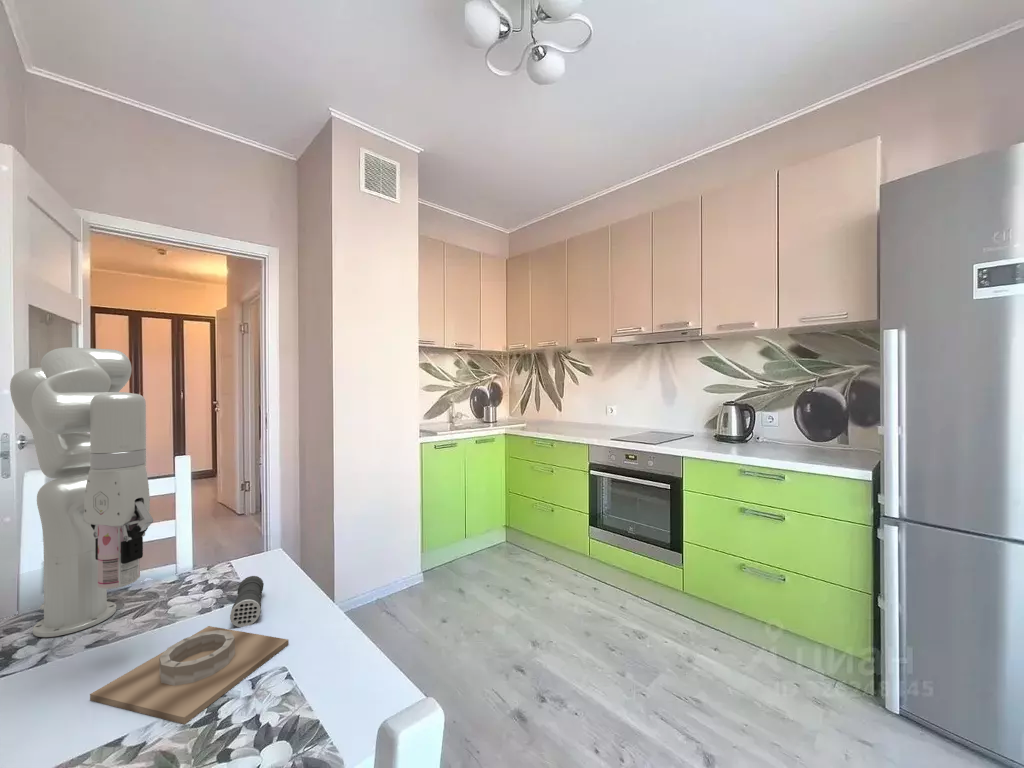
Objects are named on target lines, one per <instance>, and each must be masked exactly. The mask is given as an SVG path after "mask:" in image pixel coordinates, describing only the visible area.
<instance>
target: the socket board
mask: <svg viewBox="0 0 1024 768" xmlns="http://www.w3.org/2000/svg"><path fill="white" fill-rule="evenodd" d="M289 641H290V640H289V639H287V638H280V637H276V636H269V635H264V634H260V633H259V634H257V633H252V632H246V631H241V630H235V629H228V628H223V627H217V626H211V625H207V626H206V627H204V628H202V629H201V630H199V631H198V632H195V633H194V634H192V635H191V636H188V637H185V638H183V639H181V640H179V641H177V642H176V643H174V644H173V645H170V646H169V647H167V648H166V650H164V651H163V652H160V653H159V654H157V655H156V656H154V657H152V658H150V659H148V660H147V661H145V662H144V663H141V664H140V665H138V666H136V667H135V668H132V669H131V670H129V671H127V672H126V673H124V674H123V675H121V676H119V677H117V678H116V679H113V680H112V681H110V682H109V683H107V684H105V685H103V686H102V687H100V688H98V689H97V690H95V691H93V692H91V693H89V701H92V702H95V703H99V704H103V705H106V706H111V707H114V708H119V709H122V710H126V711H130V712H134V713H140V714H143V715H146V716H150V717H153V718H158V719H163V720H167V721H170V722H175V723H178V724H182V725H186V724H187V723H189V722H190V721H191V720H192V719H194V718H195V717H196V716H197V715H199V714H201V713H202V712H203V711H204V710H206V709H207V708H208V707H210V706H212V704H214V703H215V702H216V701H217V700H218V699H220V698H221V697H223V696H224V695H225V694H226V693H228V692H229V691H230V690H232V689H233V688H234V687H235V686H236V685H238V684H240V682H242V681H243V680H245V679H246V678H248V676H250V674H253V672H255V671H256V670H258V669H259V668H261V666H262V665H264V664H265V663H267V662H268V661H269V660H271V659H273V657H275V656H277V655H278V653H280V652H281V651H282V650H284V649H285V648H286V647H288V646H289V645H290V643H289Z"/></svg>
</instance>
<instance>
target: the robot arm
mask: <svg viewBox="0 0 1024 768" xmlns="http://www.w3.org/2000/svg"><path fill="white" fill-rule="evenodd" d="M132 370H133V369H132V363H131V361H130V359H129V357H128V356H127V355H126V354H125V353H124V352H123V351H121V350H117V349H110V348H91V347H76V346H75V347H74V346H73V347H72V346H71V347H59V348H55V349H52V350H50V351H47V352H46V353H45V354H44V355H43V357H42V358H41V360H40V367H31V368H24V369H23V370H20V371H18V372H15V374H13V375H12V377H11V380H10V384H9V391H10V398H11V400H12V403H13V406H14V408H15V410H16V412H17V414H18V415H19V416H20V418H21V419H22V421H24V423H25V424H26V425H27V427H28V428H29V429H30V431H31V434H32V437H33V438H32V439H33V443H34V448H35V452H36V458H37V461H38V464H39V468H40V470H41V472H42V473H43V475H44V476H45V477H47V478H50V479H52V480H49V481H48V482H46V483H44V484H43V485H42V486H41V487H40V488H39V490H38V491H37V493H36V506H37V509H38V513H39V519H40V522H41V528H42V540H43V603H41V604H40V606H39V609H40V610H41V611H43V619H41V620H40V621H38V622H37V623H35V624H34V626H33V628H32V634H33V635H34V636H35V637H39V638H53V637H60V636H64V635H70V634H73V633H76V632H80V631H83V630H86V629H88V628H91V627H93V626H95V625H98V624H100V623H102V622H104V621H105V620H107V619H109V618H111V617H112V616H113V615H114V614H115V613H116V611H117V604H116V603H115V602H112V601H108V597H107V595H108V594H107V593H108V592H107V591H108V589H101V588H100V587H98V525H105V526H110V527H120V526H121V530H122V534H123V538H124V541H122V542H121V563H122V564H126V563H129V562H132V561H134V560H137V559H140V560H141V559H142V558H143V557H144V552H143V551H144V546H143V545H144V544H143V543H144V537H145V536H146V532H147V530H149V529H148V528H149V527H150V526H151V525H152V524H153V523H154V519H153V517H152V515H151V514H150V513H151V512H150V511H151V510H150V507H151V505H150V504H151V502H150V501H151V498H150V496H151V495H150V488H149V487H150V486H149V485H150V484H149V478H148V472H147V469H146V468H147V467H146V466H147V456H146V455H147V439H146V438H147V437H146V436H147V426H146V425H147V418H146V417H147V414H146V413H147V408H146V407H147V405H146V400H145V397H144V396H143V395H141V394H140V393H131V392H127V391H122V389H123V388H124V387H125V386H126V385H127V383H128V382H129V381H130V378H131V375H132V372H133V371H132ZM100 510H103V511H102V512H100ZM103 512H104V513H103ZM102 513H103V514H102ZM100 514H102V515H100ZM135 517H136V520H135V521H132V522H129V521H130V520H131V519H132V518H135ZM131 525H135V527H134V528H133V529H132V530H131V531H130V528H129V526H131Z"/></svg>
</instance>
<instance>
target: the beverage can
mask: <svg viewBox="0 0 1024 768" xmlns="http://www.w3.org/2000/svg"><path fill="white" fill-rule="evenodd" d="M102 511H103V510H100V512H102ZM103 513H104V512H103ZM103 513H102V514H103ZM102 514H100V515H102ZM135 520H136V517H135V518H132V519H131V520H130V521H129V522H132V521H135ZM134 527H135V525H131V526H129V528H130V531H131V530H132V529H133V528H134ZM122 541H124V538H123V534H122V530H121V526H120V527H110V526H105V525H98V587H100V588H101V589H107V590H115V589H119V588H124V587H126V586H128V585H129V586H130V585H131V584H134V583H135V582H136V581H138V579H140V577H141V558H140V559H137V560H134V561H132V562H129V563H126V564H122V563H121V542H122Z"/></svg>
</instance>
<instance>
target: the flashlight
mask: <svg viewBox="0 0 1024 768" xmlns="http://www.w3.org/2000/svg"><path fill="white" fill-rule="evenodd" d="M264 584H265V583H264V581H263V579H262V578H261V577H259V576H258V575H250V576H247V577H246V578H244V579H243V580H241V581H240V583H239V585H238V587H237V597H236V599H235V602H234V603H233V605H232V608H231V611H230V615H229V621H230V622H231V623H232V625H233V626H235V627H236V628H242V627H243V628H244V627H248V626H251V625H253V624H254V623H255V622H257V620H258V619H259V617H260V615H261V611H262V610H261V609H262V597H261V595H262V593H263V591H264V586H265V585H264Z"/></svg>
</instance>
